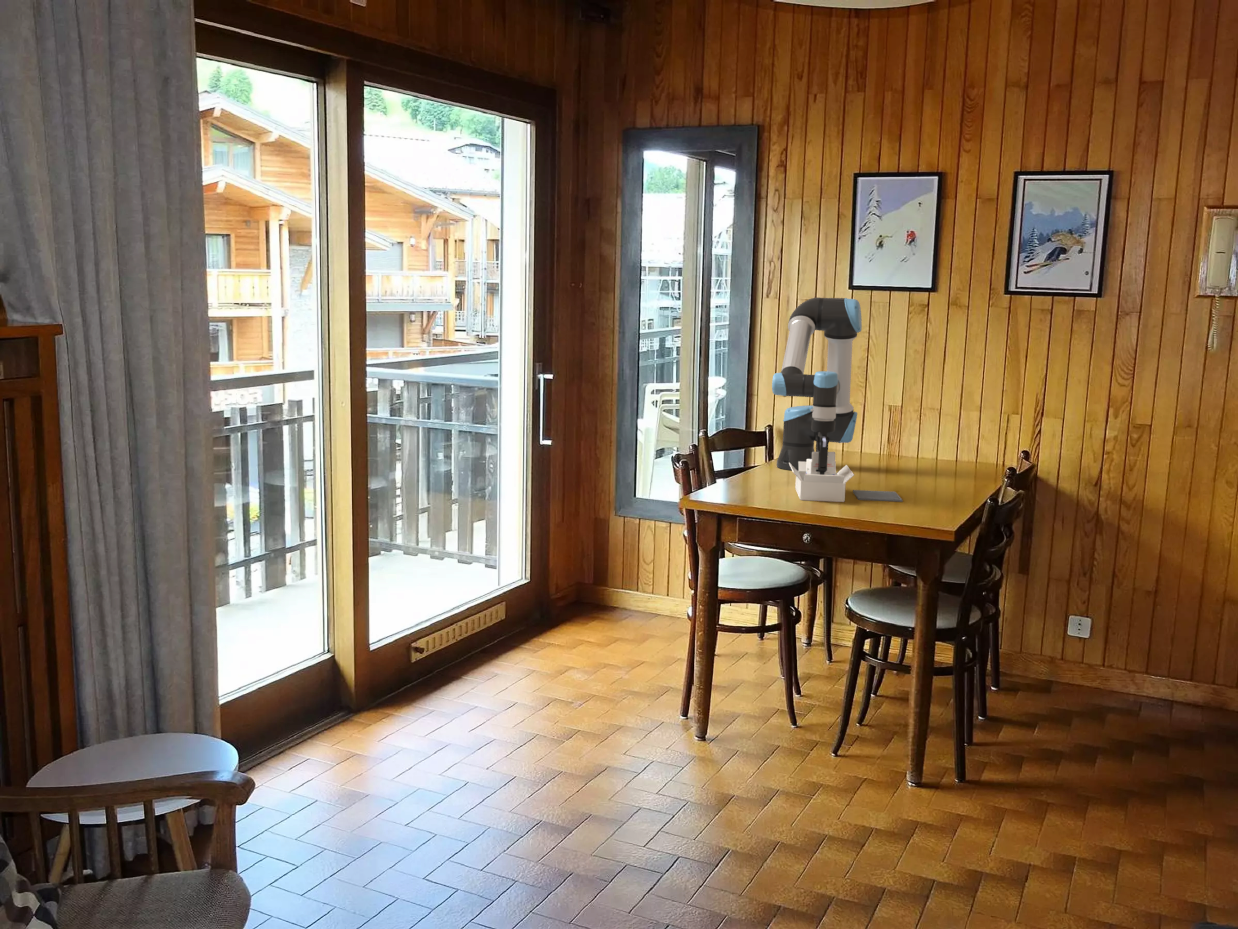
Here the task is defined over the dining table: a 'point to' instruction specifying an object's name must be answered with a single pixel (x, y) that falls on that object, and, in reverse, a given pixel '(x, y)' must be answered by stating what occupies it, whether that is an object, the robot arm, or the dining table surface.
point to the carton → (821, 484)
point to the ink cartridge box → (813, 463)
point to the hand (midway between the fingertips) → (819, 489)
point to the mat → (877, 495)
